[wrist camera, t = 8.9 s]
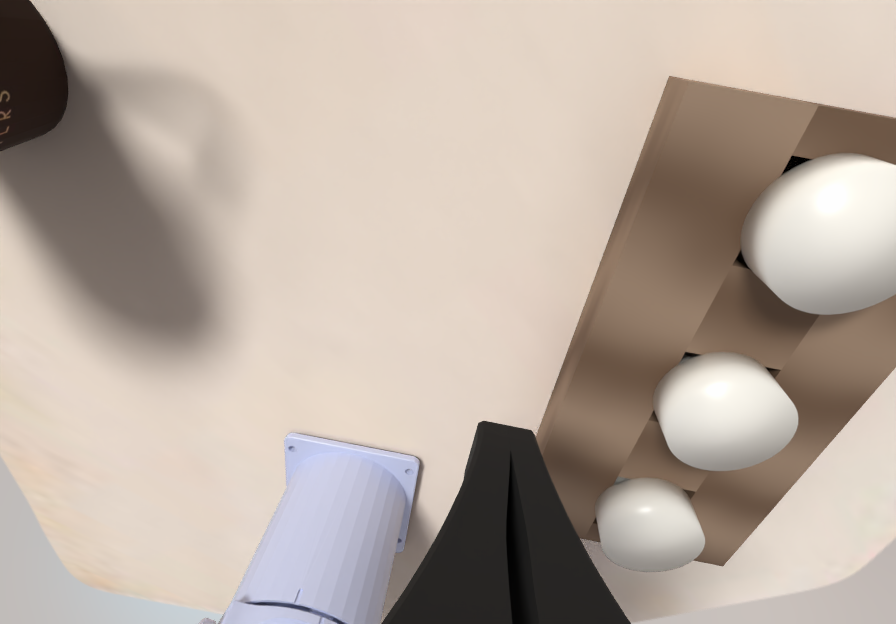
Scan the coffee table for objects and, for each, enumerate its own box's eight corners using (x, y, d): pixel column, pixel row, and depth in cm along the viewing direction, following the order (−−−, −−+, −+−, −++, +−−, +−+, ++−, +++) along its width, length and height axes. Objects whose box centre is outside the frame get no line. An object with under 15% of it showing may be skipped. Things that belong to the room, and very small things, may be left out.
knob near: (816, 275, 19) (881, 326, 15) (699, 253, 19) (739, 299, 15) (895, 155, 16) (993, 185, 13) (759, 130, 16) (823, 154, 13)
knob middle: (723, 417, 23) (758, 480, 20) (627, 398, 23) (647, 458, 20) (774, 339, 20) (824, 397, 17) (666, 319, 20) (697, 373, 17)
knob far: (659, 514, 27) (679, 579, 24) (578, 498, 27) (588, 561, 24) (694, 459, 24) (723, 524, 21) (606, 442, 25) (621, 504, 21)
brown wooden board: (709, 533, 28) (722, 566, 26) (514, 495, 28) (514, 525, 26) (1018, 140, 16) (1080, 153, 14) (669, 76, 16) (689, 81, 14)
